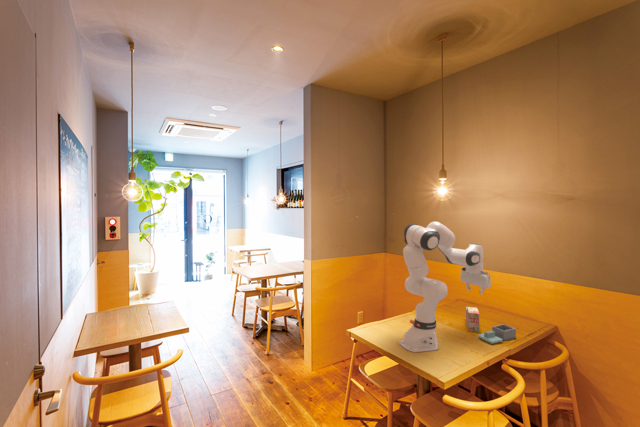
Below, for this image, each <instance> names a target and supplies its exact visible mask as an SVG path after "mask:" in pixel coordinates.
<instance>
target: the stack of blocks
mask: <svg viewBox="0 0 640 427" xmlns="http://www.w3.org/2000/svg"><path fill="white" fill-rule="evenodd" d="M465 320H466V326H467V331H468V332H476V333H480V311H479V309H478V308H477V307H473V306H465Z"/></svg>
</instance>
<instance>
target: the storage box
mask: <svg viewBox="0 0 640 427" xmlns="http://www.w3.org/2000/svg"><path fill="white" fill-rule="evenodd" d="M491 327H492V328H491V330H492V331H494V332H495V336H496V337H499V338H501V339H503V341H502V342H506V341H511V340H515V339H517V338H516V335H517V334H516V333H517V328H516V327H513V326H510V325H507V324H504V323H503V324H497V325H494V326H493V325H492V326H491Z"/></svg>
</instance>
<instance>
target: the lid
mask: <svg viewBox="0 0 640 427" xmlns="http://www.w3.org/2000/svg"><path fill="white" fill-rule="evenodd" d="M476 336H477V338H480V339H481V340H482V341H484V342H487V343H489V344H491V345H495V344H497V343H501V342H504V341H503V339H501V338H499V337H496V336H495V332H494V331H492V329H491V330H487V331H484V332H483V333H480V334H479V333H478V334H477V335H476Z"/></svg>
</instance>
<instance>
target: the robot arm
mask: <svg viewBox="0 0 640 427" xmlns="http://www.w3.org/2000/svg"><path fill="white" fill-rule="evenodd" d="M403 238H404V240H403V241H404V243H405V244H406V245H405V246H404V247H403V249H402V254H403V259H404V263H405V266H406V268H407V270H408V274H409V276H408V277H406V279H405V281H404V288H405V290H406V291H407V292H409V293H410V294H412V295H416V296H420V297H423V301H420V302H419V303H417V304H416V305H415V318H414V320H412V319H410V320H409V323H410V324H412V326H411V327H410V328H409V329H408V330H407V331H406V332H405V333H404V335H403V339H402V340H401V339H400V340H399V345H400V347H402V348H403V349H405V350H406V351H409V352H411V353H421V352H432V351H437V350H439V348H438V347H439V342H438V337H437V329H436V328H437V320H436V313H437V311H436V310H437V307H438V304H439V303H440V302H441V301H442V300H444V299H445V298H446V297H447V295H448V293H449V290H448V286H447V284H446V283H445V282H443V281H441V280H439V279H435V278H430V277H429V278H428V277H427V275H428V274H429V270H430V268H429V266H428V263H427V260H426V257H425V255H424V250H425V251H433V250H435V249H436V248H437V249H438V250H439V251H440V252H441V253H442V255H444V257H445V259H446V261H447V262H448V263H449V264H452V265H459V266H462V267H461V268H460V270H461V271H460V281H461V282H463V283H465V286H466V289H467V291H472V287H471V286H470V285H473V286H477V287H480V290H479V294H480V295H484V291H485V290H486V289H490V288H491V287H492V282H491V275H490V274H489V273H488V272H486V271H484V258H485V257H484V255H485V254H484V246H482V245H481V244H478V243H469V244H468V247H467V248H465V249H461V248H455V247H453V246H454V245H455V242H456V235H455V234H454V232H453V231H452V230H450V229H449V228H448V227H447V226H446V225H444V224H442V223H441V222H439V221H431V222H429V224H428V225H427V226H426V227H424V226H421V225H418V224H415V223H411V224H408V225H406V227H405V228H404V230H403Z"/></svg>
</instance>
